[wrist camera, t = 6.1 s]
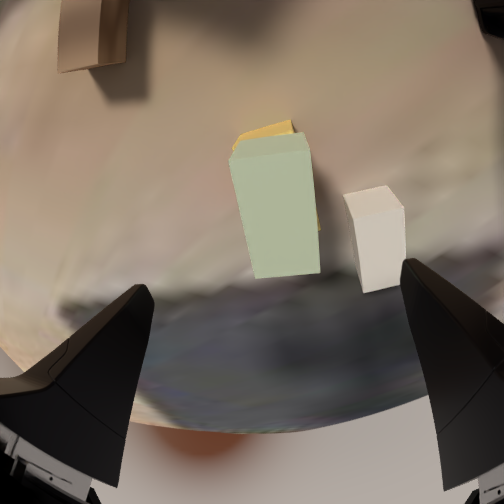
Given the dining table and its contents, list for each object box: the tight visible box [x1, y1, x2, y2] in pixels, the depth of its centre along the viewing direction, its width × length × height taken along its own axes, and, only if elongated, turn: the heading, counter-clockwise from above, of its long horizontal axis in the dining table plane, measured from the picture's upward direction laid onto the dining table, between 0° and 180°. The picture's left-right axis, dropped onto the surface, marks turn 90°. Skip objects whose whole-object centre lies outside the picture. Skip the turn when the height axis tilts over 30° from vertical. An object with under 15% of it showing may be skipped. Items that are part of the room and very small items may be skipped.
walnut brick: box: [58, 0, 130, 74], centre depth 11 cm, size 6×3×4 cm, turn 176°
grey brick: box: [343, 185, 406, 293], centre depth 18 cm, size 6×3×4 cm, turn 19°
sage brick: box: [228, 132, 320, 279], centre depth 14 cm, size 6×3×4 cm, turn 10°
